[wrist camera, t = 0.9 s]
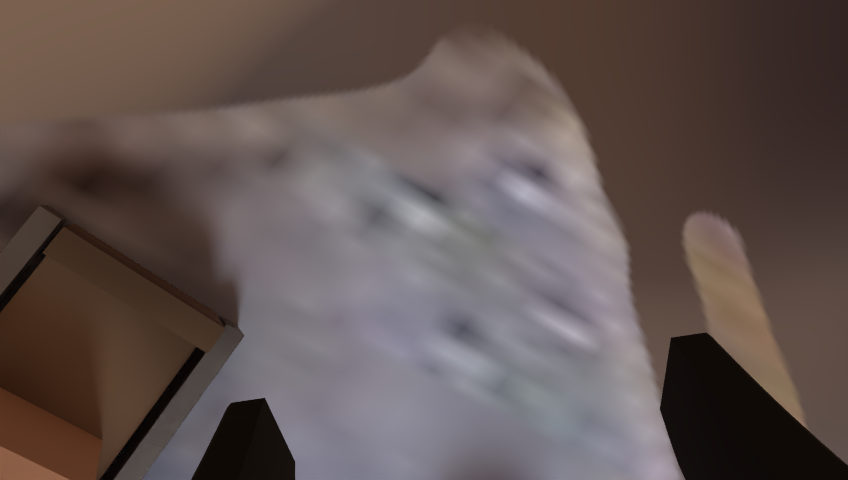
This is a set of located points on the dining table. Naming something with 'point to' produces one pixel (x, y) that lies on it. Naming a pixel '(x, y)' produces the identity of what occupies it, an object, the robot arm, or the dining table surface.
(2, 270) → the lane rails
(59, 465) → the block
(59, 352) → the brown boxy piece
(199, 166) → the dining table surface
